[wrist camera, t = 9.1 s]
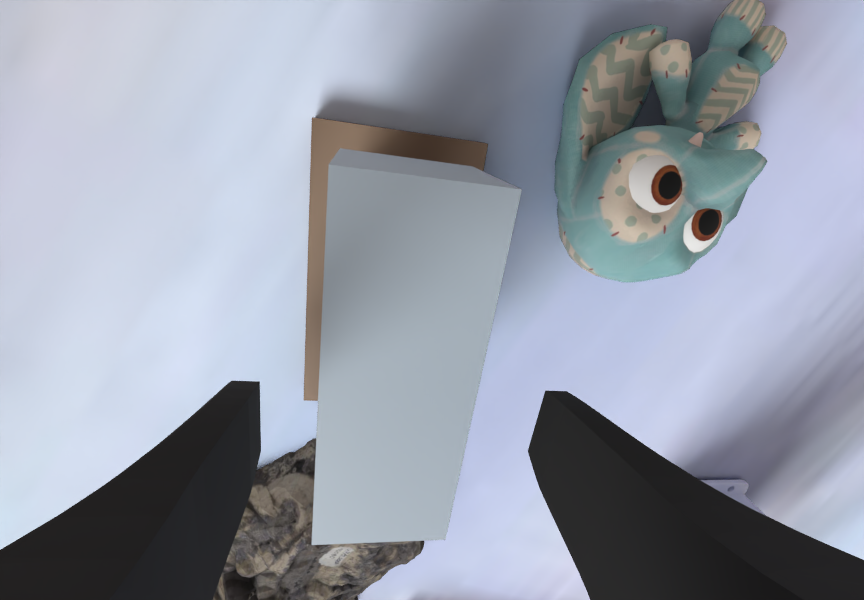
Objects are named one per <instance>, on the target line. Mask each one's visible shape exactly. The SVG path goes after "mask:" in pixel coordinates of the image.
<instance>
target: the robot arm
mask: <svg viewBox="0 0 864 600" xmlns="http://www.w3.org/2000/svg"><path fill="white" fill-rule="evenodd" d="M260 452H261V433H260V382H252V381H231V382H230V383H228V384H227V385H226V386H225V387H224V388H223V389H221V390H220V391H219V392H218V393H217V394H216V395H215V396H214V397H213V398H211V399H210V400H209V401H208V402H207V403H206V404H205V405H204V406H203V407H201V408H200V409H199V410H198V411H197V412H196V413H195V414H193V415H192V416H191V417H190V418H189V419H188V420H187V421H185V422H184V423H183V424H182V425H181V426H179V427H178V428H177V429H176V430H175V431H174V432H172V433H171V434H170V435H169V436H168V437H166V438H165V439H164V440H163V441H162V442H160V443H159V444H158V445H157V446H155V447H154V448H153V449H152V450H150V451H149V452H148V453H146V454H145V455H144V456H143V457H141V458H140V459H139V460H137V461H136V462H135V463H133V464H132V465H131V466H130V467H128V468H127V469H126V470H124V471H123V472H122V473H120V474H119V475H118V476H116V477H115V478H113V479H112V480H111V481H109V482H108V483H106V484H105V485H104V486H102V487H101V488H99V489H98V490H96V491H95V492H93V493H92V494H90V495H89V496H87V497H86V498H84V499H83V500H81V501H80V502H78V503H77V504H75V505H74V506H72V507H71V508H69V509H68V510H66V511H64V512H63V513H61V514H60V515H58V516H57V517H55V518H53V519H52V520H50V521H48V522H47V523H45V524H43V525H41V526H40V527H38V528H36V529H35V530H33V531H31V532H30V533H28V534H26V535H25V536H23V537H21V538H20V539H18V540H16V541H14V542H13V543H11V544H9V545H8V546H6V547H4V548H3V549H1V550H0V600H213V597H214V594H215V591H216V588H217V586H218V583H219V580H220V577H221V574H222V572H223V569H224V566H225V563H226V561H227V558H228V555H229V552H230V550H231V547H232V544H233V541H234V539H235V536H236V533H237V530H238V528H239V525H240V522H241V519H242V516H243V514H244V511H245V508H246V505H247V502H248V499H249V497H250V494H251V490H252V486H253V482H254V478H255V474H256V469H257V465H258V461H259V456H260ZM528 453H529V456H530V460H531V463H532V466H533V470H534V473H535V476H536V479H537V482H538V485H539V488H540V490H541V492H542V494H543V497H544V499H545V501H546V503H547V505H548V507H549V510H550V512H551V514H552V516H553V518H554V520H555V522H556V525H557V527H558V529H559V531H560V533H561V535H562V537H563V539H564V542H565V544H566V546H567V548H568V550H569V552H570V554H571V556H572V558H573V561H574V563H575V565H576V567H577V569H578V571H579V573H580V576H581V578H582V580H583V583H584V585H585V587H586V590H587V592H588V595H589V597H590V600H864V560H862V559H860V558H858V557H855V556H853V555H851V554H848V553H846V552H844V551H841V550H839V549H837V548H834V547H832V546H830V545H827V544H825V543H823V542H820V541H818V540H816V539H814V538H811V537H809V536H807V535H805V534H803V533H800V532H798V531H796V530H794V529H792V528H790V527H788V526H786V525H784V524H782V523H780V522H778V521H775V520H773V519H771V518H769V517H767V516H766V515H765V514H764V513H763V512H762V511H761V510H760V509H759V508H758V507H757V506H756V505H754V504H753V503H752V502H751V501H750V500H749V499H748V498H747V497H746V496H745V493H746V492H747V490H748V488H749V484H748V483H747V482H745V481H744V480H699V479H697V478H695V477H694V476H692V475H690V474H689V473H687V472H686V471H684V470H682V469H681V468H679V467H678V466H676V465H675V464H673V463H671V462H670V461H668V460H667V459H665V458H664V457H662V456H661V455H659V454H657V453H656V452H654V451H653V450H651V449H650V448H648V447H647V446H646V445H644V444H643V443H641V442H640V441H638V440H637V439H635V438H634V437H632V436H631V435H630V434H628V433H627V432H625V431H624V430H622V429H621V428H620V427H618V426H617V425H615V424H614V423H613V422H611V421H610V420H608V419H607V418H606V417H604V416H603V415H601V414H600V413H599V412H597V411H596V410H594V409H593V408H591V407H590V406H589V405H587V404H586V403H584V402H583V401H581V400H580V399H578V398H577V397H575V396H573V395H572V394H570V393H568V392H567V391H545V394H544V398H543V401H542V404H541V408H540V411H539V415H538V418H537V422H536V425H535V428H534V432H533V435H532V439H531V442H530V446H529V449H528Z"/></svg>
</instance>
